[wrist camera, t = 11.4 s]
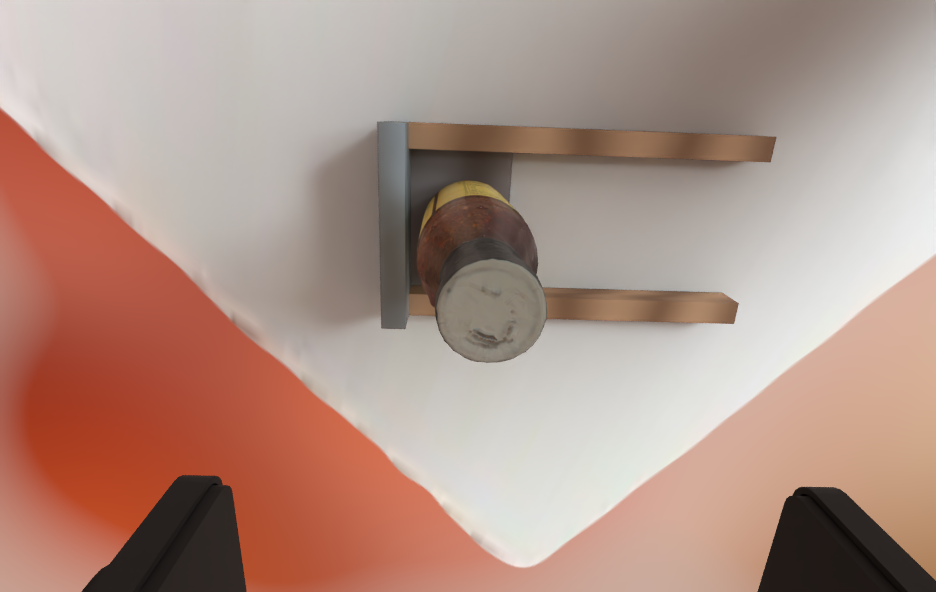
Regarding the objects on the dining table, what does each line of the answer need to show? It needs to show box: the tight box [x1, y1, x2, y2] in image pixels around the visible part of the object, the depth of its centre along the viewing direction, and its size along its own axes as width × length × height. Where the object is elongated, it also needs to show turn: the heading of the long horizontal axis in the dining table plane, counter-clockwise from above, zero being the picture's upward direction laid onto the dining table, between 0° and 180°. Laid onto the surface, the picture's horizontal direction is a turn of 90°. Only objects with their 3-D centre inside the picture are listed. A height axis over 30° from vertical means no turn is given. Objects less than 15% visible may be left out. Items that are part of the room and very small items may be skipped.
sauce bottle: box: [417, 180, 547, 363], centre depth 27 cm, size 7×6×20 cm
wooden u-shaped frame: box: [377, 121, 776, 329], centre depth 35 cm, size 26×13×5 cm, turn 88°
